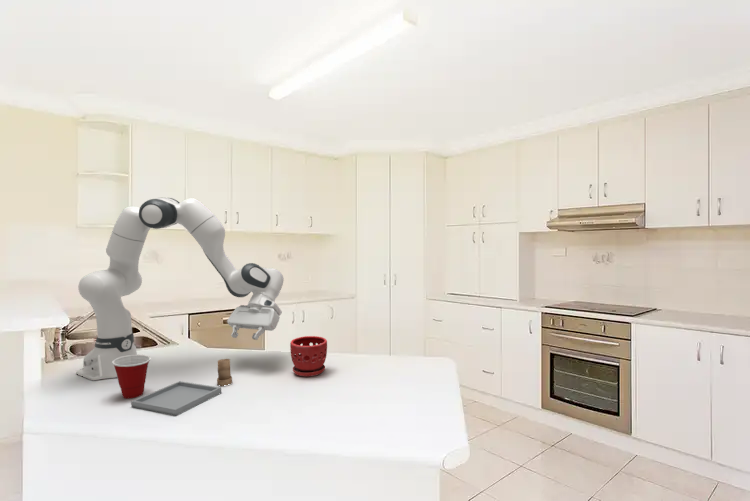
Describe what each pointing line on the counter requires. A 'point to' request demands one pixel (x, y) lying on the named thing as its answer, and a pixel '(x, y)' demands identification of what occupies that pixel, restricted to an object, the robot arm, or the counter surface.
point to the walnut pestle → (224, 372)
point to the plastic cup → (131, 374)
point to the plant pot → (308, 355)
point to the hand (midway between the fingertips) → (243, 337)
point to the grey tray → (176, 398)
